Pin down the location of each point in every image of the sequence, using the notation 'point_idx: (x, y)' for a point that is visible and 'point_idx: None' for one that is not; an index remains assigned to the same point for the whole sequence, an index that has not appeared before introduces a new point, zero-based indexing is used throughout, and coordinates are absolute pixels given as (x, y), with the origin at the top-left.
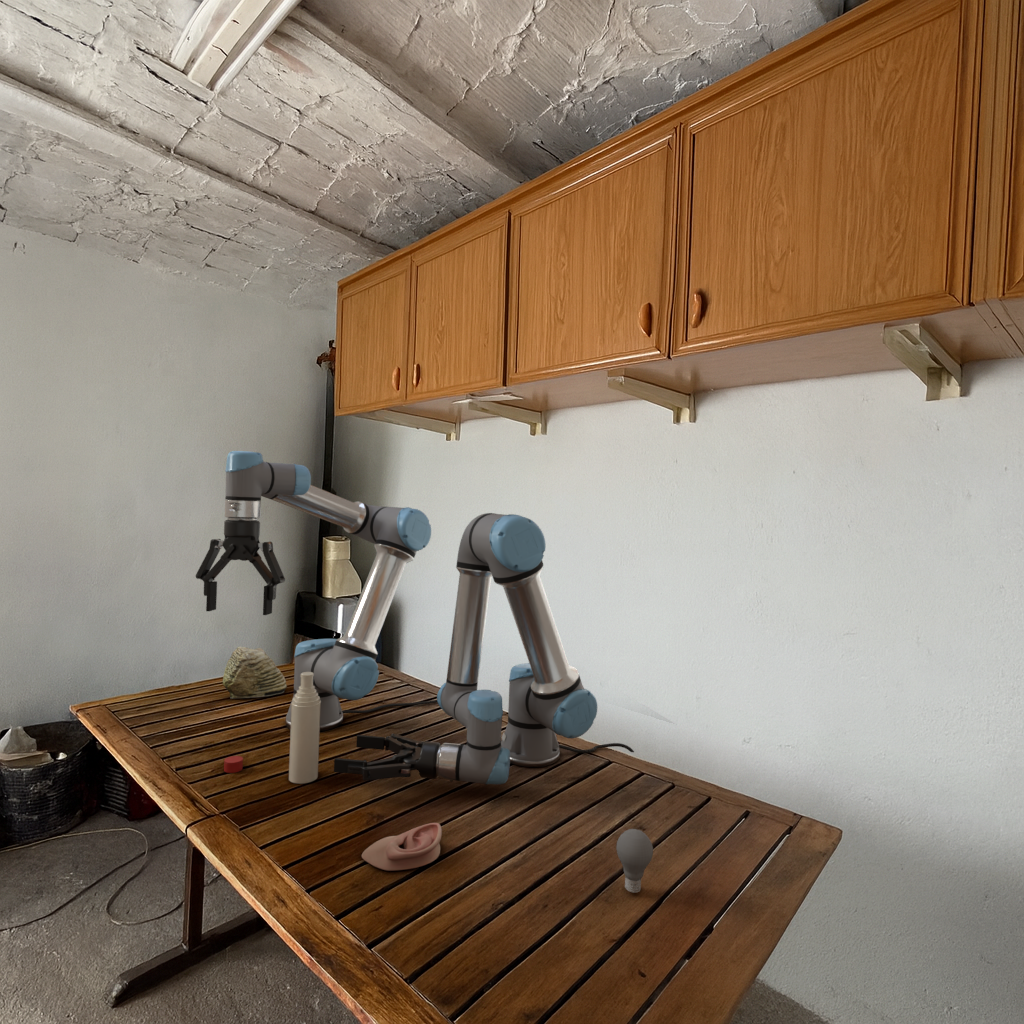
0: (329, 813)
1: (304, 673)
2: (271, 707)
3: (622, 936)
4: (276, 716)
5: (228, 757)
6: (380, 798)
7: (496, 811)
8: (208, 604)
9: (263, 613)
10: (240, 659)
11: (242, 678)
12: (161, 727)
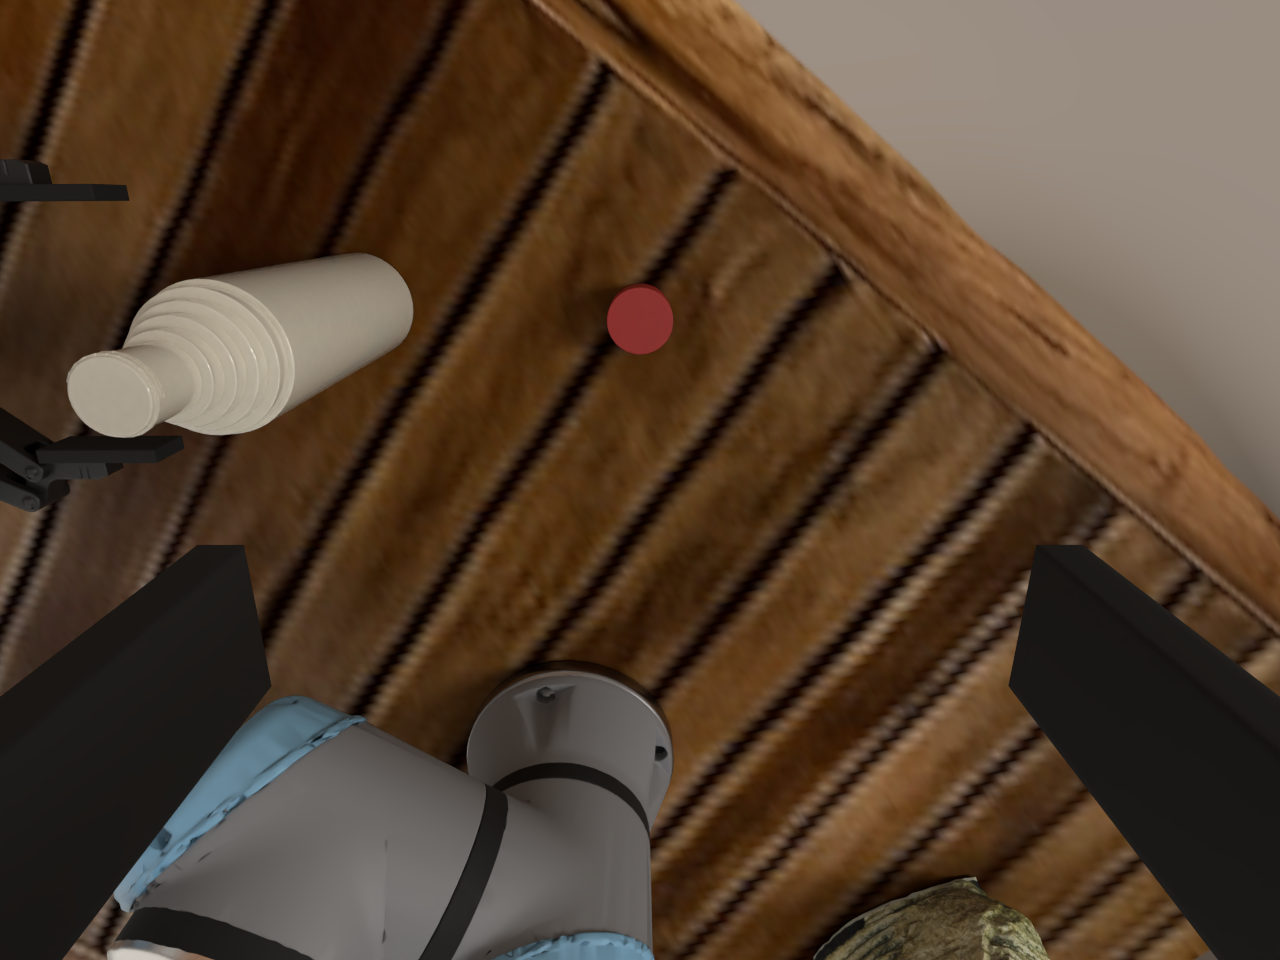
0: (112, 44)
1: (125, 391)
2: (790, 836)
3: None
4: (732, 769)
5: (667, 332)
6: (10, 201)
7: None
8: (1107, 591)
9: (223, 553)
10: None
11: (958, 945)
12: None
